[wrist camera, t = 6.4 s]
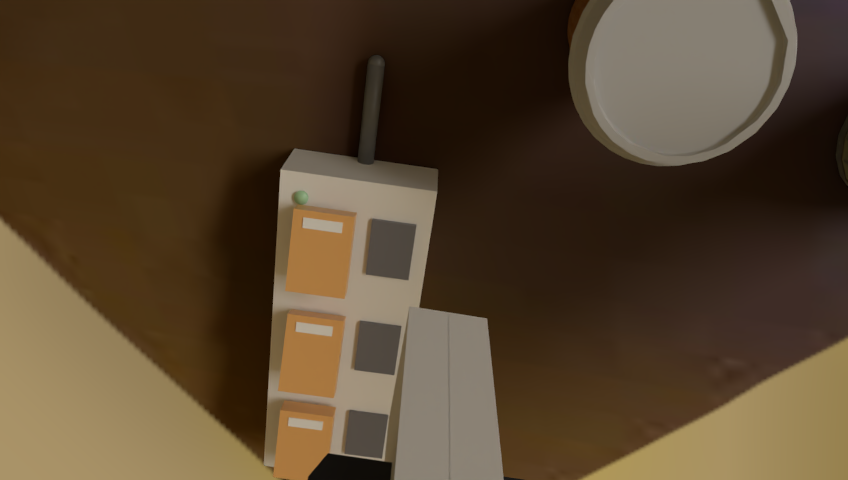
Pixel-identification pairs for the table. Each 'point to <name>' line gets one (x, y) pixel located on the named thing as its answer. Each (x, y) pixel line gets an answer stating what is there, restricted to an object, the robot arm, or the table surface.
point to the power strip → (357, 277)
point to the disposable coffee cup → (678, 73)
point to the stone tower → (843, 152)
